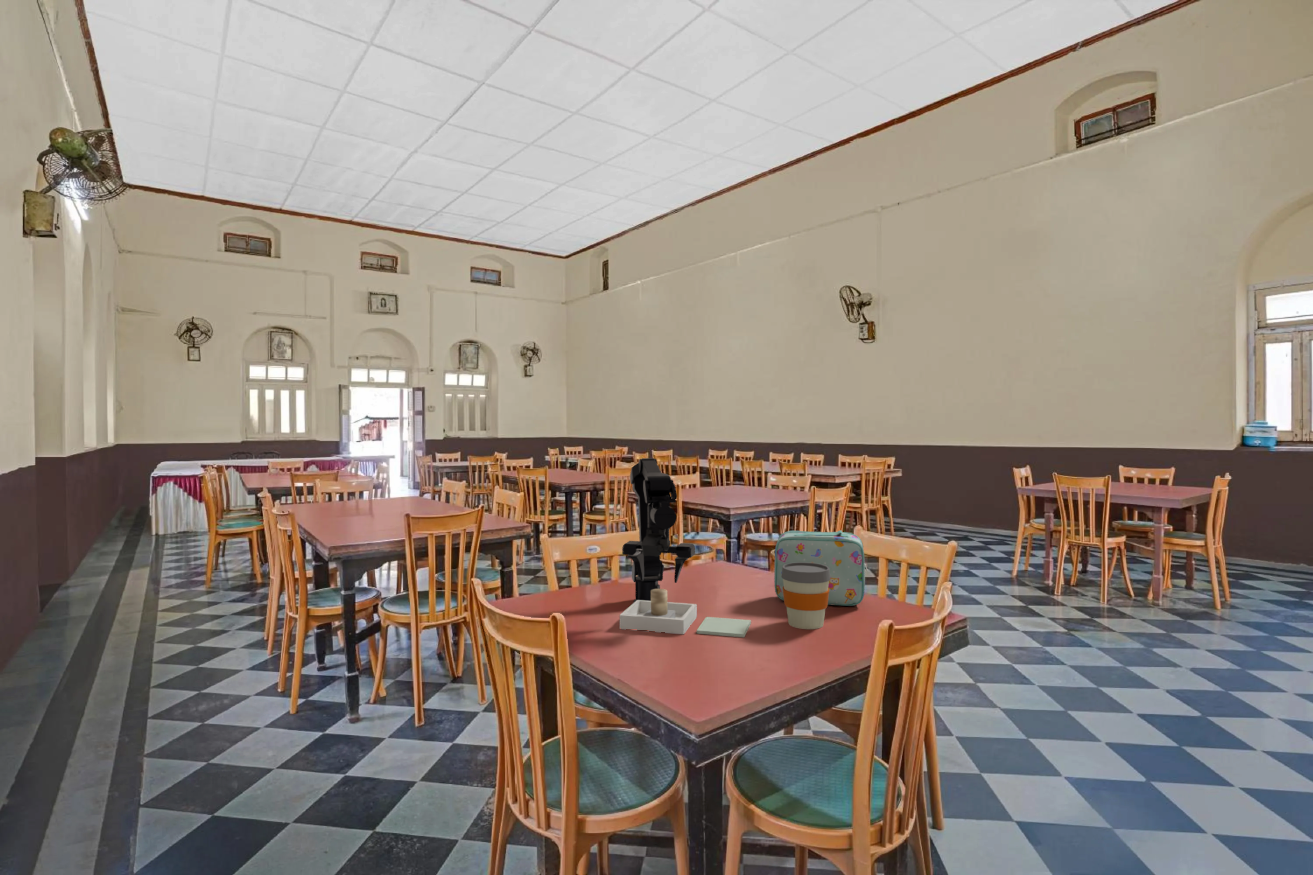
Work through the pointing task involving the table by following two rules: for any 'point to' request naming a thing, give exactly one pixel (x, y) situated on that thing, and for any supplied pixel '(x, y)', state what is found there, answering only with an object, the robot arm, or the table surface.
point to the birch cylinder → (659, 602)
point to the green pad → (724, 627)
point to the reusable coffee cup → (805, 593)
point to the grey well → (659, 617)
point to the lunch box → (825, 562)
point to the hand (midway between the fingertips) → (659, 581)
